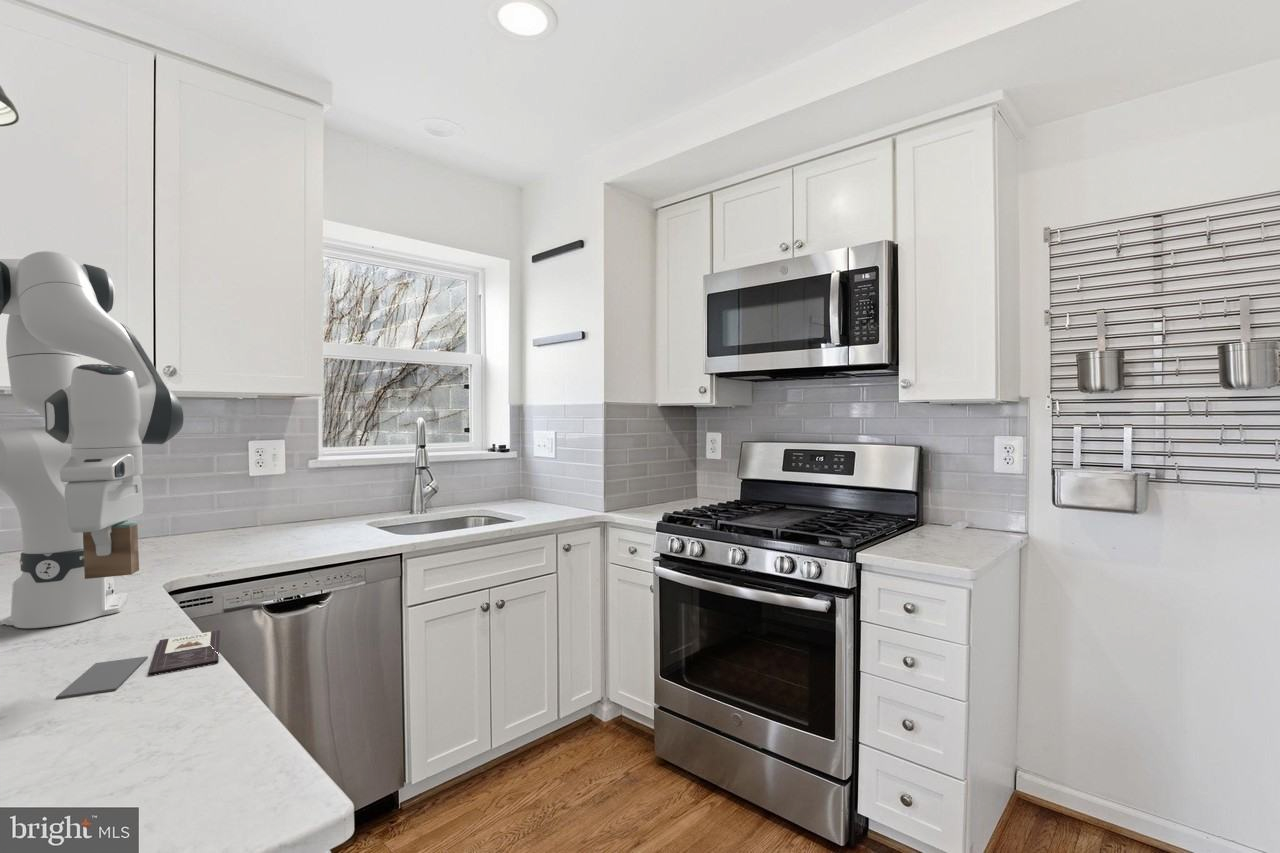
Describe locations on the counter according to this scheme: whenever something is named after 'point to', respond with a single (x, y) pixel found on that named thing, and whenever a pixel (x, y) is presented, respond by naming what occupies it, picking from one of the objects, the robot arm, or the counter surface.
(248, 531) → the counter surface
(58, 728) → the counter surface
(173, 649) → the chocolate bar
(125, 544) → the teal brown rectangular block
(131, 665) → the rubber mat
